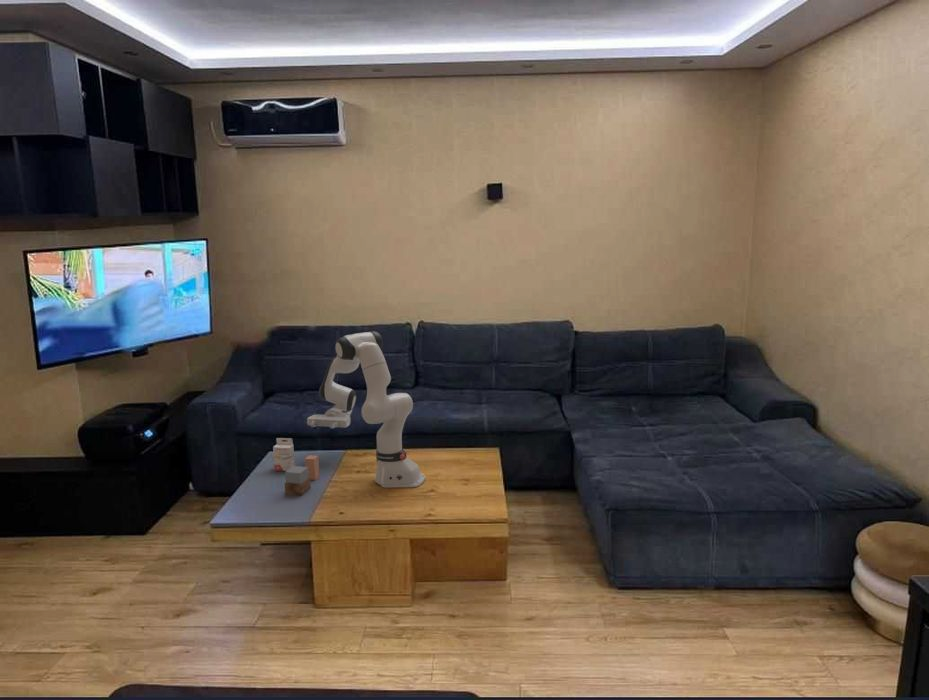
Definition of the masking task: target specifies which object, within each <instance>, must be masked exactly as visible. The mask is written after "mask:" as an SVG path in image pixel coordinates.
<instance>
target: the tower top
mask: <svg viewBox="0 0 929 700" xmlns="http://www.w3.org/2000/svg"><path fill="white" fill-rule="evenodd" d="M284 472H285V483H292V484H302V483H303V482H304V481H306V480H307V479H308V478H309V475H308V467H305V466H297V465H295V466H293V467H291V468H290V469H289V470H287V471H284Z"/></svg>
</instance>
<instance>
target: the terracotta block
mask: <svg viewBox="0 0 929 700" xmlns="http://www.w3.org/2000/svg"><path fill="white" fill-rule="evenodd" d="M319 463H320V462H319V455H311V454H309V455H307V456H306V457H305V458H304V467H308V475H309V478H310V481H316V480H318V479H319V478H320V464H319Z"/></svg>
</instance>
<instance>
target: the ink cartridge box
mask: <svg viewBox="0 0 929 700" xmlns="http://www.w3.org/2000/svg"><path fill="white" fill-rule="evenodd" d="M275 441H276V444H275V445H273V447H272V450H273V451H272V454H273V466H274V467H273V468H274V471H277V472H278V471H282V472H286V471H287V470H289V469H290V468H291V467H293V466H296V465H295V463H296V462H295V452H294V451H295V450H294V449H295V448H294V443H293V441H294V440H293V438H290V437H289V438H287V437H285V438H284V437H277V438H276V440H275Z"/></svg>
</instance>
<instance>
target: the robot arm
mask: <svg viewBox="0 0 929 700" xmlns="http://www.w3.org/2000/svg"><path fill="white" fill-rule="evenodd" d="M335 341H336V342H335V344H334V346H335V347H334V349H335V353H336V357H333V358H332V359H331V360H330V361H329V363H328V365H327V368H326V371H325V374H324V377H323V381H322V382H321V383H322V384H321V385H320V387H319V390H318V395H319V398H320V399H321V400H323V401H325V402H329V403H332V404H333V405H334V406H332V407H331V408H329V409H328V410H327V411H325V413H324V414H319V413H318V414H312V415H311V416H308V417H306V424H307V426H310V427H311V428H315V427H329V429H335V428H347V427H349V426H350V425H351V414H352V413H353V409H354V408H355V406H356V403H357V393H356V391H355V390H354V389H352V388H350V387H347V386H344V385H341V384H338V383H336V382H335V381H334V379H335V377H336V376H335V375H336V374H350V373H353V372H355V371H356V370H357V369H358V368H359V366H360V367H361V369H362V374H363V377H364V380H365V385H366V392H367V393H366V398H365V400H364V403H363V404H362V407H361V412H360V413H361V416H362V419H363V420H364V422H365V423H367V424H370V425H374V424H375V425H377V424H378V425H379V424H382V423H383V424H382V425H381V426H380V428H379V429H378V431H377V432H376V450H375V452H376V453H375V458H376V463H377V464H376V472H375V478H374V483H376V484H377V485H380V486H381V488H386V489H387V488H388V489H389V488H416V487H420V486H421V485H423V483H424V482H425V481H426V476H425V474H424V473H422V472H421V471H420V470H421V469H420V468H419V464H417V463H416V462H414V461H413V460H411V459H410V458H409V457H407V453H408V450H407V449H406V450H404V448H403V442H402V441H403V439H402V438H403V437H402V436H403V435H402V434H403V429H404V425H405V422H406V419H407V417H408V416H409V414H410V413H411V412H412V410H413V408H414V402H413V399H412V397H411V396H410V394H408V393H407V392H395V393H391V394H387V387H388V386H389V384H390V383H391V382H392V381H391V380H392V376H391V373H390V371H389V368H388V364H387V361H386V359H385V356H384V354H383V351H382V349H383V346H384V344H383V342H384V341H383V338H382V336H381V334H380V333H379V332H378V331H376V330H371V331H370V330H368V331H365V332H358V333H357V332H356V333H352V334H347V335H343V336H342V337H339V338H338V339H336V340H335Z"/></svg>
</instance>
